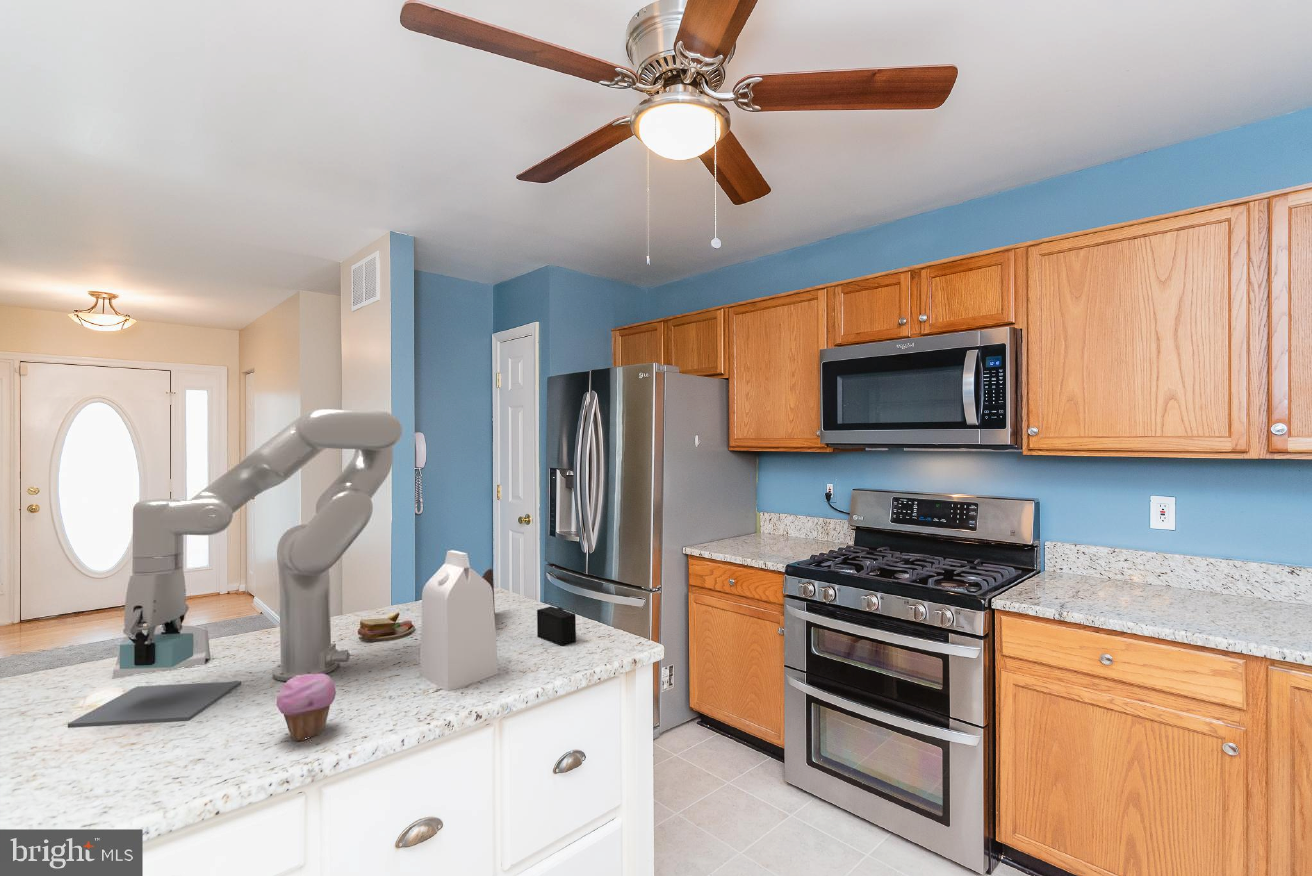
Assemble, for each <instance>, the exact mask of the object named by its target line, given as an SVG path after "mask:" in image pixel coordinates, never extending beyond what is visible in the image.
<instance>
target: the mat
mask: <svg viewBox="0 0 1312 876" xmlns="http://www.w3.org/2000/svg"><path fill="white" fill-rule="evenodd" d="M241 683H242V680H239V681H220V682H219V681H218V682H200V683H182V684H180V683H178V684H162V685H161V684H160V685H159V684H157V685H141V686H139V685H138V686H135V687H134V688H131V689H129V690H128V691H126V692H124V693H123V694H120V695H119V696H117V697H114V698H113V699H111V700H109V701H108V702H105V703H104V704H102V705H100V706H98V707H96V708H95V709H93V710H91V711H89V712H87V713H86V714H83V715H81V716H80V717H78V718H75V719H74V720H72V721H71V722H69V723H67V728H77V727H78V728H79V727H95V726H112V725H113V726H114V725H116V726H117V725H130V724H131V725H132V724H144V723H145V724H147V723H148V722H149V723H150V722H151V723H165V722H166V723H167V722H183V721H184V722H185V721H186V722H187V721H190V720H193V718H194V717H196V716H197V715H199V714H200V713H202V712H203V711H205V710H206V709H207V708H210V706H212V705H213V704H215V703H216V702H218V701H219V700H221V699H222V698H223V697H225V696H226V695H228V694H229V693H230V692H232V691H234V690H235V689H237V688H238V687H240V686H241V685H242V684H241ZM236 687H237V688H236ZM233 689H234V690H233Z"/></svg>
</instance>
